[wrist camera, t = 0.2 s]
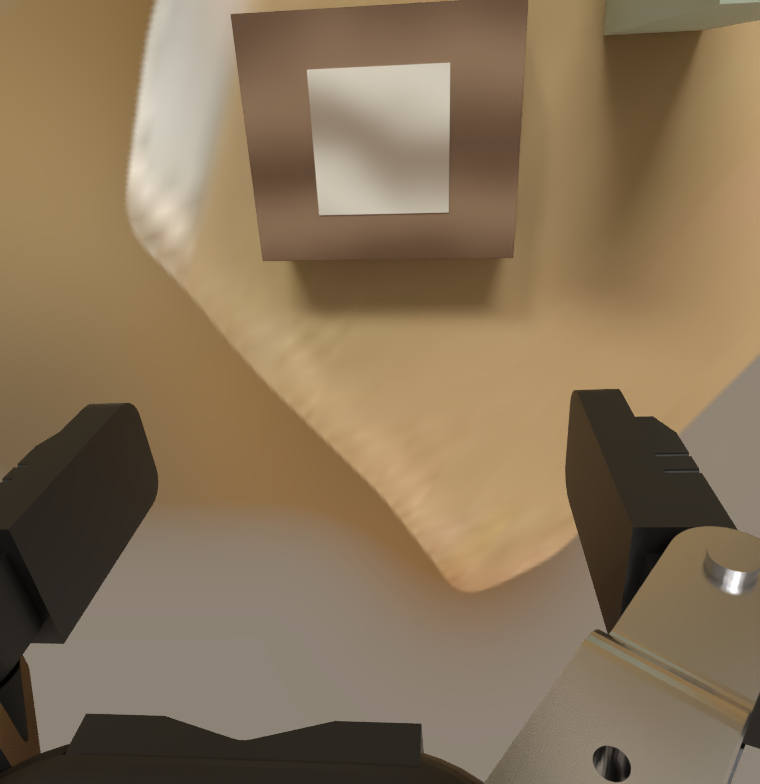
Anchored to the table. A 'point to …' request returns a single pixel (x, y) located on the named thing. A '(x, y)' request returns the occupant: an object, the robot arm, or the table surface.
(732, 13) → the pillar
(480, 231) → the plinth
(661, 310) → the table surface
